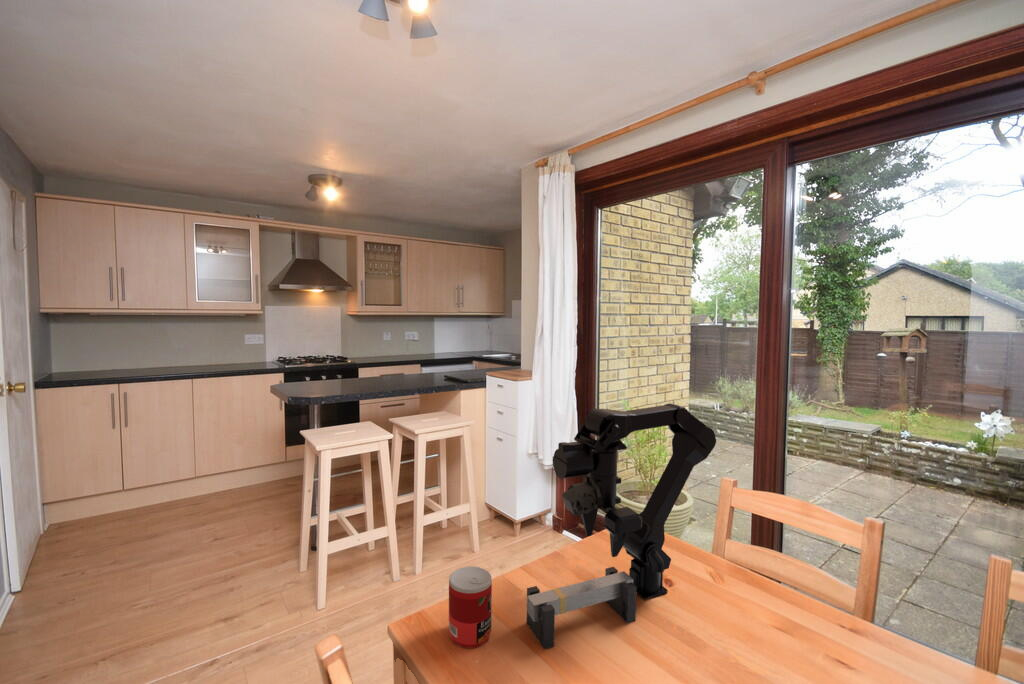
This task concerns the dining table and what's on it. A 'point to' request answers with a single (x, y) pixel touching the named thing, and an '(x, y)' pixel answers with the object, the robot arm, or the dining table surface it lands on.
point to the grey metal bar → (578, 595)
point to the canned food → (470, 606)
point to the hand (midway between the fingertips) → (601, 545)
